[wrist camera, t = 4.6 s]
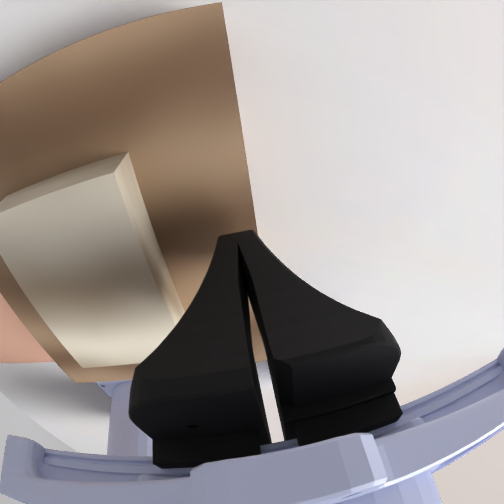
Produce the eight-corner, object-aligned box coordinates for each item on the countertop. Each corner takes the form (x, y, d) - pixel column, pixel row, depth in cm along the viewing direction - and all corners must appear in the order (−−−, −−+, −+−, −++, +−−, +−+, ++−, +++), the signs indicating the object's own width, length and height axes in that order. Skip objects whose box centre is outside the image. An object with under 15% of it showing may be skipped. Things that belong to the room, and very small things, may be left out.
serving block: (264, 311, 21) (275, 358, 18) (85, 339, 21) (75, 382, 17) (216, 17, 10) (221, 2, 7) (-28, 115, 10) (-73, 139, 7)
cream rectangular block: (190, 324, 15) (190, 356, 13) (89, 338, 15) (82, 368, 13) (128, 151, 10) (113, 172, 8) (6, 195, 9) (-18, 220, 8)
